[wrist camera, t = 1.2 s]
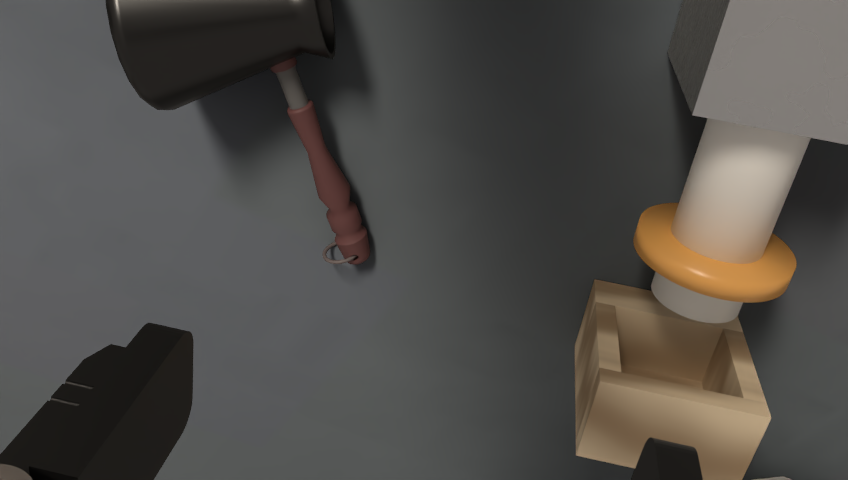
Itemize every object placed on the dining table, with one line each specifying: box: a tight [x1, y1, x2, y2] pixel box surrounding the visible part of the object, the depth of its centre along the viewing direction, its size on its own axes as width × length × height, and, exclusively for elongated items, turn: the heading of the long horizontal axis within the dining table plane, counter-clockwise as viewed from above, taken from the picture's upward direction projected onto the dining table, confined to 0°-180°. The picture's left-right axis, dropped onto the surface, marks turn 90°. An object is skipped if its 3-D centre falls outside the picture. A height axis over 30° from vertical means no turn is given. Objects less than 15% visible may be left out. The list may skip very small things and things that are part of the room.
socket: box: [575, 279, 771, 480], centre depth 40 cm, size 4×8×9 cm, turn 81°
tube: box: [633, 118, 811, 323], centre depth 32 cm, size 18×7×7 cm, turn 172°
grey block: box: [667, 0, 848, 145], centre depth 31 cm, size 6×7×8 cm
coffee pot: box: [106, 0, 370, 265], centre depth 39 cm, size 8×18×8 cm
